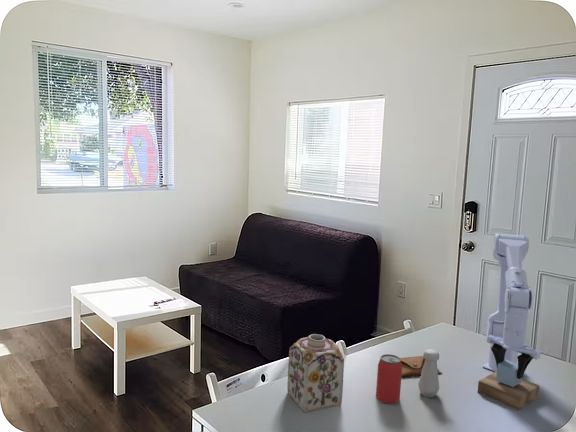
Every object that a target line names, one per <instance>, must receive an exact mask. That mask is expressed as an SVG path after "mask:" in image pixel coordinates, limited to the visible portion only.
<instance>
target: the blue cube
mask: <svg viewBox="0 0 576 432" xmlns="http://www.w3.org/2000/svg"><path fill="white" fill-rule="evenodd" d="M517 372H518V362H517V363H514V362H511V361H509V360H505V361H503V362H501V363H499V364H498V367H497V376H496V380H497V381H499V382H502V383H504V384H506V385H509V386H511V387H514V386H516V385H518V384H519V383H521V381H522V379H523V378H521V379H518V378H517Z"/></svg>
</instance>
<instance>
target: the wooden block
mask: <svg viewBox="0 0 576 432" xmlns="http://www.w3.org/2000/svg"><path fill="white" fill-rule="evenodd" d="M496 376H497V371H496V372H494V371H493V373H490V374H489V375H487V376H485V377H483V378H481V379H480V380H478V385H477V394H480V395H482V396H485V397H487V398H490V399H491V400H494V401H497V402H498V403H501V404H503V405H506V406H508V407H510V408H513V409H515V410H516V411H520V410H521V409H523V408H525V407H526V406H527V405H529V404H530V403H532V402H533V401H534V400H536V399H537V398H538V397H539V391H540V390H539V389H540V385H538V384H536V383H533V382H531V381H529V380H526V379H524V378H522V381H521V383H519V384H518V385H516V386H514V387H511V386H509V385H506V384H504V383H502V382H499V381H497V380H496Z"/></svg>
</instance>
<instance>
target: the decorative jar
mask: <svg viewBox="0 0 576 432" xmlns="http://www.w3.org/2000/svg"><path fill="white" fill-rule="evenodd" d="M287 365H288V367H287V386H286V387H287V393H288V394H289V395H290V397H291V399H292V400H293V401H294V402H295V403H296V404H297V405H298V406H299V408H300V409H301V410H302V411H303V412H304V413H307V412H311V411H316V410H323V409H328V408H333V407H338V406H342V403H343V393H344V391H343V390H344V376H345V375H344V373H345V372H344V371H345V358H344V356H343V354H342V351H341V350H340V347H339V345H338V344H337V343H335V342H334V340H332V339H329V338H326V337H325V336H324V335H323V334H317V333H312V334H310V335H308V336H306V337H302V338H300V339H298V340H297V341H296V342H294V343H293V344H292V345H291V346H290V347H289V349H288V364H287Z"/></svg>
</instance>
